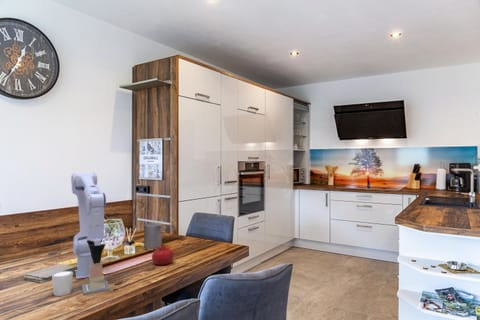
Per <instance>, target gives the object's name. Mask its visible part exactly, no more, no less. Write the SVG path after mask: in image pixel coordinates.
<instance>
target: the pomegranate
mask: <svg viewBox="0 0 480 320" xmlns="http://www.w3.org/2000/svg"><path fill="white" fill-rule="evenodd" d="M156 248H159V249H157V250H153V253H152V255H151V259H152V263H153V265H157V266H165V265H169V264H171V262H173V259H174V251H173V250H172V249H171V248H170V247H167V246H165V247H164V244H161V248H160V247H156Z"/></svg>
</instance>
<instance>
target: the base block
mask: <svg viewBox="0 0 480 320" xmlns="http://www.w3.org/2000/svg"><path fill="white" fill-rule="evenodd" d="M104 281H105V275H104V272H102V277H96V278H91V277H90V275H89V277H88V283H89V288H90V290H91V289H97V288H102V287H104Z"/></svg>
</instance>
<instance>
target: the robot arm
mask: <svg viewBox="0 0 480 320" xmlns="http://www.w3.org/2000/svg"><path fill="white" fill-rule="evenodd" d="M70 178H71V179H70V180H71V181H70V183H71V192H72V194H73V195H76V197H77V198H76V199H77V202H78V203H77V205H78V218H79V232H78V233H77V234H75V235H74V236H73V243H72V251H73V254H74V255H75V256H77V258H76V259H77V260H76V266H77V271H76V272H75V278H76V280H79V279H85V278H86V279H87V278H89V275H90V265H92V264H98V263H101V259H102V254H103V251H104V250H105V248H106V244H105V243H102V242H103V240H104V239H105V238H108V235H107V234H105V226H104V225H105V208H106V206H107V197H106V193H105V192H101V190H100V187H98V175H97V173H95V172H93V173H92V172H89V173H82V172H81V173H75V172H74V173H72V175H71V177H70Z"/></svg>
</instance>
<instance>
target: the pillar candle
mask: <svg viewBox="0 0 480 320" xmlns="http://www.w3.org/2000/svg"><path fill="white" fill-rule="evenodd" d="M143 228H144V229H143V249H144V248H145V249H156V250H157V249H159V248H156V247H160V248H161V244H162V239H163V237H162V231H163V230H162V223H160V222H147V223H144V224H143ZM145 249H144V250H145ZM156 250H155V251H156Z"/></svg>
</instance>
